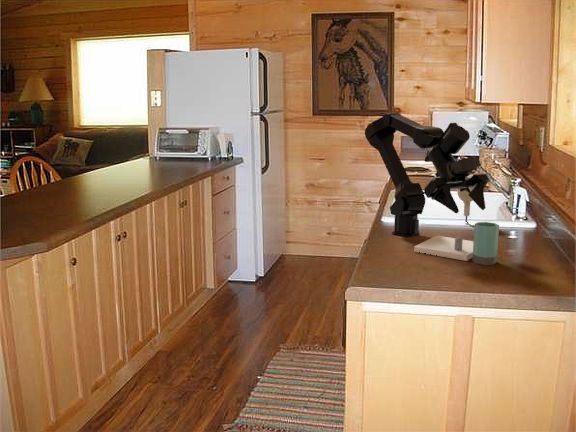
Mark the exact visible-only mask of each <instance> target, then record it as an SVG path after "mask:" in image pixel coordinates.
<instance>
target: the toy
mask: <svg viewBox="0 0 576 432" xmlns="http://www.w3.org/2000/svg"><path fill="white" fill-rule="evenodd" d="M469 179H470V178H465V180H469ZM456 192H457V196H458V197H459V198H458V199H460V201H462V203H463V204H464V205H463V216H464V217H465V222H467V223H468V224H469V222H468V217H470V215H471V214H470V213H471V211H470V210H471V202H474V201H473V200H472V199H471V197H470V196H469V195H468V194H469V192H467V191H466V189H465V188H458V189H457V190H456Z"/></svg>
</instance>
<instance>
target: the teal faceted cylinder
mask: <svg viewBox="0 0 576 432" xmlns="http://www.w3.org/2000/svg"><path fill="white" fill-rule="evenodd" d="M499 231H500V224H498V223H495V222H489V221H488V222H487V221H480V222H476V223H474V229H473V241H474V242H473V257H472V258H471V260H472V262H474V264H477V265H481V266H482V265H483V266H491V265H492V266H494V265H495V264H497V260H498V259H497V258H498V248H499V247H498V246H499V234H500V233H499Z"/></svg>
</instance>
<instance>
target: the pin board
mask: <svg viewBox="0 0 576 432" xmlns="http://www.w3.org/2000/svg"><path fill="white" fill-rule="evenodd" d="M473 242H474V240H468V239H467V240H466V239H463V238H462V237H460V236H458V237H456V238H454V237H449V236H448V237H447V236H443V235H442V236H441V235H435V236H433V237H431V238H429V239H426V240H424V241H422V242H421V243H419V244H417V245H414V247H413V248H414V250H413V251H414V253H419V252H420V253H419V254H424V253H426V254H425V255H430V254H431V256H436V255H437V257H442V258H449V259H454V260H459V261H463V262H464V261H466V262H467V261H469V260H470V259H471V260H472V258H473Z"/></svg>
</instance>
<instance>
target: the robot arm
mask: <svg viewBox="0 0 576 432" xmlns="http://www.w3.org/2000/svg"><path fill="white" fill-rule="evenodd" d="M396 132H399V133H402V134H404V135H406V136H408V137H410V138H411V139H412V143H414V144H415V145H416V146H417V147H418V148H419V149H431V150H430V151H428V152H426V156H425V157H424V162H425V163H430V162H431V164H432V165H433V167H434V168H435V171H436V173H435V174H434V175H435V177H433V178H431V179H430V181H429V182H428V183H427V184H426V185H425V187H424V190H423V189H422V185H421V184H420V182H412V181H411V179H410V177H409V174H408V172H407V171H406V169H405V167H404V165H403V164H404V163H403V162H402V161H401V158H400V155H398V152H397V149H396V148H395V145H394V140H395V139H394V138H395V133H396ZM364 136H365V139H366V140H367V142H368V143H369V145H370V146H371V147H372V148H374V149H376V150H377V151H378V153H379V155H380V157H381V159H382V161H383V164H384V166H385V169H386V170H387V172H388V173H387V174H388V175H389V176H390V179H391V181H392V183H393V185H394V188H395V191H394V196H393V197H394V202H393V203H392V204H391V205H390V207H389V211H390V215H392V216H394V228H393V229H394V230H393V231H391V234H392V235H396V236H402V237H410V238H412V237H413V236H415V235H418V234H420V231H419V224H420V220H419V218H418V215H422V214H423V212H424V208H425V205H426V198H427V199H430V198H431V200H432V201H434V200H435V202H438V203H439V204H442V206H443V207H444V206H445V207H446V208H447V209H449V210H450V211H451V212H453V213H455V214H458V213H459V212H460V210H459V206H458V205H457V203H456V202H455V199H454V197H453V195H452V193H451V190H456V189H458V188H465V189H466V191H467V192H469V194H468V195H469V196H470V197H471V199H472V200H473V201H472V202H474V203H475V204H476V205H477V206H478V208H480V209H481V210H482V211H484V210H485V209H486V202H485V194H484V193H485V192H484V191H485V190H484V189H485V187H486V186H487V185H488V183H490V180H491V179H490V178H489V176H488V175H487V173H476V174H475V173H474V174H473V175H471V177H470V178H468V177H469V176H470V173H471V172H472V171H476V170H477V169H478V168H479V167H480V166H481V162H480V159H479V158H478V156H477V155H471V156H469V157H464V158H461V159H457V160H456V159H455V157H454V156H453V155H456V154H458V153H459V152H460V150H461V149H463V147H464V146H465V144H466V143H467V142H468V141H469V140H470V137H471V136H470V133H469V131H468V130H466V129H465V128H464V127H463V126H461V125H459V124H458V123H457V122H450V123H449V124H448V125H447V127H446V129H445V130H443V129H442V128H440V127H438V126H430V125H423V124H421V123H418V122H417V121H414V120H412V119H410V118H409V117H406V116H404V115H402V114H401V113H399V112H387V113H385V114H383V116H381V117H380V118H378V119H376V120H374V121H372V122H370V123H368V124H367V126H366V128H365V129H364ZM467 178H468V179H469V180H465V179H467ZM425 196H426V197H425Z"/></svg>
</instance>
